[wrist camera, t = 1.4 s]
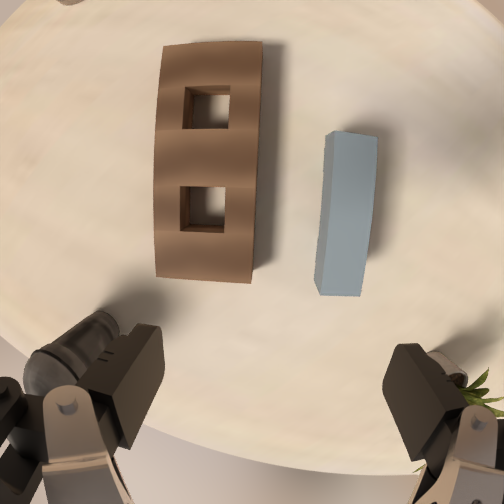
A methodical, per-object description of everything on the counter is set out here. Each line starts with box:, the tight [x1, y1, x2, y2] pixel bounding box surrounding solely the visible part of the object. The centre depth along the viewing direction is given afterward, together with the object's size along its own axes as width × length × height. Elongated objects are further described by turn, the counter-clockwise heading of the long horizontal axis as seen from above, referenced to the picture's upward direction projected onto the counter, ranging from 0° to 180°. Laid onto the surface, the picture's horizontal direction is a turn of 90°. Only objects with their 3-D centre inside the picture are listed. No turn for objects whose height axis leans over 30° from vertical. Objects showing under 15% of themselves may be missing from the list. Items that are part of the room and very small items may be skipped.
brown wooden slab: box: [153, 41, 263, 284], centre depth 25 cm, size 22×9×4 cm, turn 178°
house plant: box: [413, 351, 504, 473], centre depth 25 cm, size 14×14×16 cm
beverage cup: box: [23, 311, 119, 397], centre depth 23 cm, size 7×7×20 cm
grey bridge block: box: [314, 131, 378, 296], centre depth 25 cm, size 13×4×6 cm, turn 178°
